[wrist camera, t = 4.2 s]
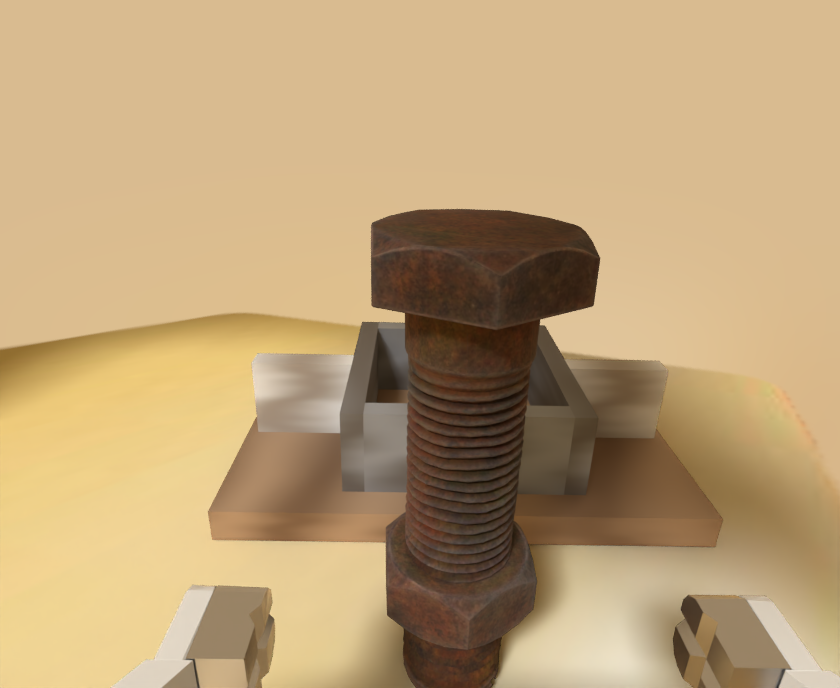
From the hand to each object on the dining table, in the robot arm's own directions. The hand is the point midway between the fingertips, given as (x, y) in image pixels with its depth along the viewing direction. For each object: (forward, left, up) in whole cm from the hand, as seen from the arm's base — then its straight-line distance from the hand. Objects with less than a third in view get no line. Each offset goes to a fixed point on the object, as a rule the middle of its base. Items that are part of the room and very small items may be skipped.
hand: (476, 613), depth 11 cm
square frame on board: (+1, +18, -8) cm, 20 cm away
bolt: (0, +5, -9) cm, 10 cm away
